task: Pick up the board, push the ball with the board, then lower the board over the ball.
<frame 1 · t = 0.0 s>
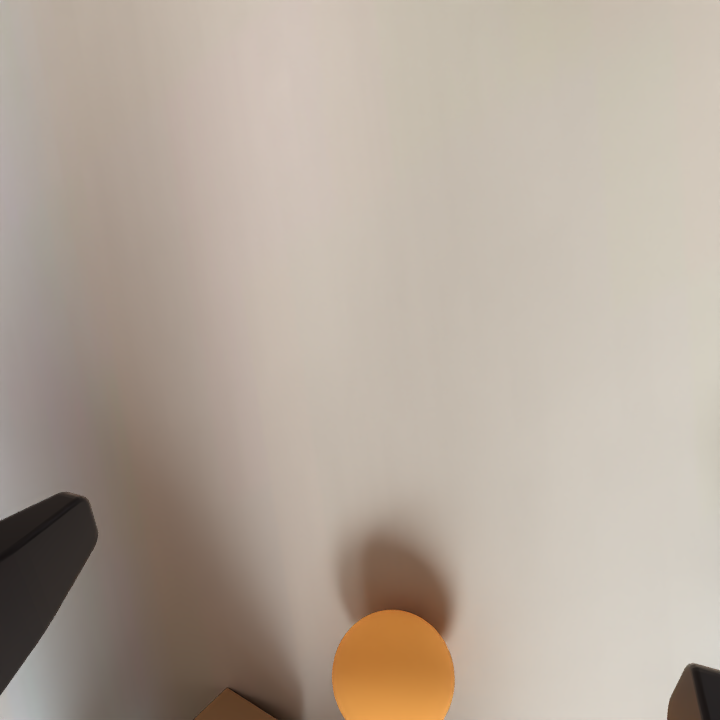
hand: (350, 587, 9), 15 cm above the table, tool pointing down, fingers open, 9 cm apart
ball: (393, 675, 26), on the table
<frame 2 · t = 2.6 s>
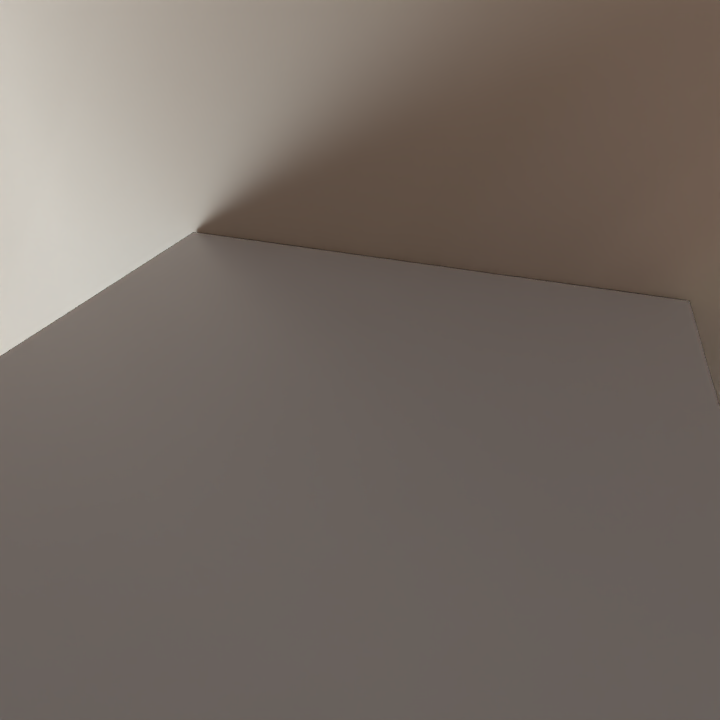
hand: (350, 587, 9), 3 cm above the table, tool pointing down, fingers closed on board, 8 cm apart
board: (403, 456, 12), on the table, touching gripper
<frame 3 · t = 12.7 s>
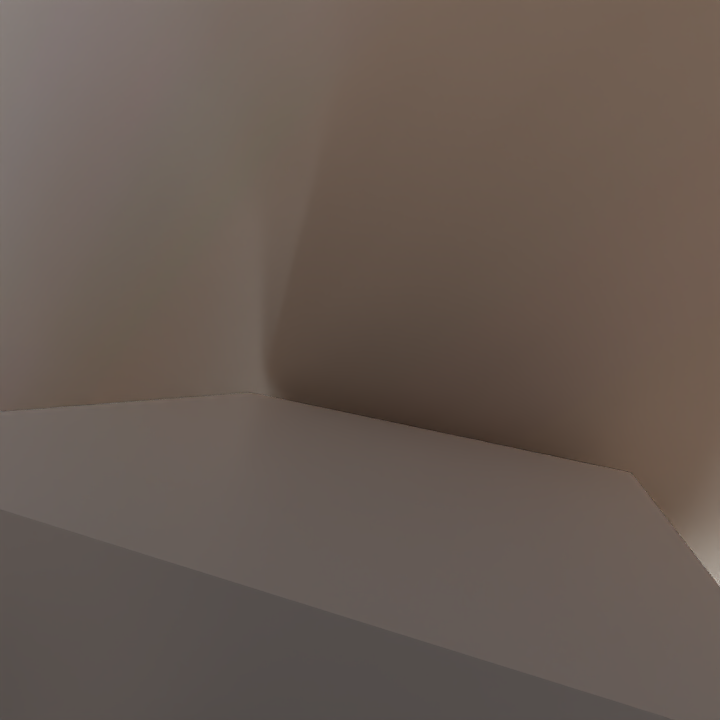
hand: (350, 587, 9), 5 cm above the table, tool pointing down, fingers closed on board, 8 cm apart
board: (390, 617, 13), point 3 cm above the table, tilted 31°, touching ball, gripper
when the fingers open (4 cm above the table, at t = 13.6 s): board drops 2 cm, on the table.
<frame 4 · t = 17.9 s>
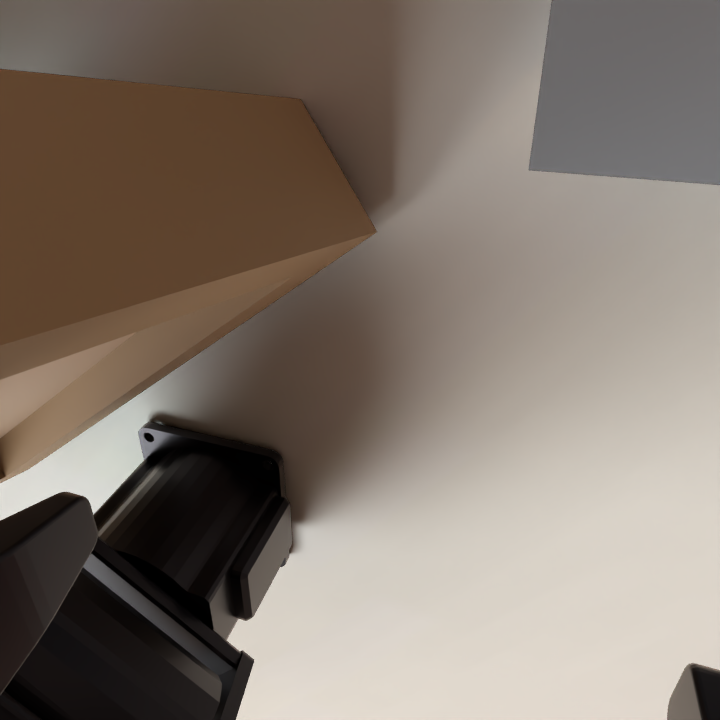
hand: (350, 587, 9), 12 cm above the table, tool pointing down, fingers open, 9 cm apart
photo frame: (45, 209, 23), on the table
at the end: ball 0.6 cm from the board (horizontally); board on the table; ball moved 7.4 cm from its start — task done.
